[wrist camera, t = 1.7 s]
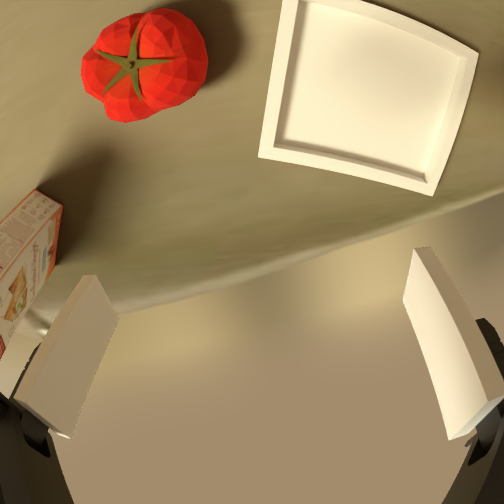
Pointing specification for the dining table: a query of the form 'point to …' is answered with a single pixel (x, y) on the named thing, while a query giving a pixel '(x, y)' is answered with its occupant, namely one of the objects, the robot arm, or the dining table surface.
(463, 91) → the tray
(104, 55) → the tomato
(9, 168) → the dining table surface
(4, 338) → the cracker box
